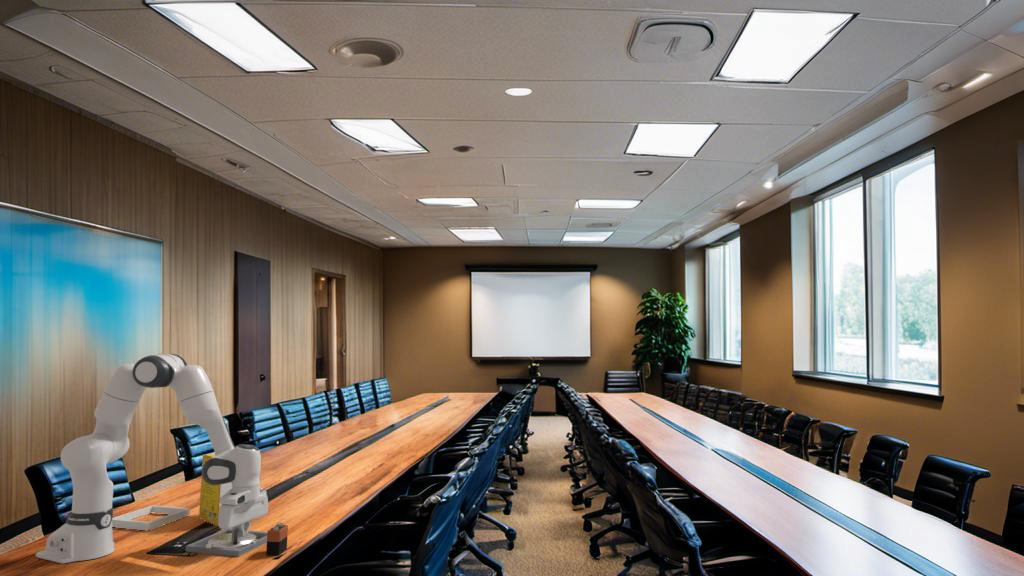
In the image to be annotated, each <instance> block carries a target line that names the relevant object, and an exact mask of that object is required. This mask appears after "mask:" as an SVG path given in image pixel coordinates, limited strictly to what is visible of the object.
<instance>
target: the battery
mask: <svg viewBox="0 0 1024 576" xmlns="http://www.w3.org/2000/svg"><path fill="white" fill-rule="evenodd" d="M288 530H289V525H287V524H284V523H283V522H278V523H277V522H276V525H274V526H273V527H271V528H269V529H268V530H267V531H266V532H267V543H266V552H265V553H266V555H265V556H267V557H268V556H270V557H271V556H272V557H273V558H272V560H279V559H281V558H282V557H283V556H284V555H285V553H284V552H285V551H287V549H288V533H289V531H288Z"/></svg>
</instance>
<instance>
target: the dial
mask: <svg viewBox="0 0 1024 576" xmlns="http://www.w3.org/2000/svg"><path fill="white" fill-rule="evenodd" d="M231 529H232V533H229V534H223V535H219V536H216V537H213V538H211V539H210V540H209V541H208V544H209V543H210V544H214V545H213V547H219V548H229V549H240V548H242V547H244V546H246V545H248V544H250V543H251V542H252V541H256V540H257V538H256V535H254V534H251V533H248V535H245V536H243V537H240V536H239V533H238V528H237V527H236V526H235V527H233V528H231Z"/></svg>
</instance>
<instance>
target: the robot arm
mask: <svg viewBox="0 0 1024 576" xmlns="http://www.w3.org/2000/svg"><path fill="white" fill-rule="evenodd" d="M167 387H169V388H171V389H172V390H173V391H174V393H175V394H176V398H177V401H178V405H179V407H180V410H181V413H182V414H183V416H184V418H185V419H186V420H187V421H188V422H190V423H192V424H195V425H197V426H200V428H202V429H203V430H204V431H205V432H206V434H207V436H208V439H209V441H210V443H211V445H212V448H213V450H214V453H215V456H214V457H212V458H211V459H209V460H208V461H207V462H205V464H204V465H203V467H202V466H201V478H202V477H203V479H204V480H205V482H207V483H208V484H210V485H221V484H225V483H232V489H230V490H229V491H228V492H227V493H226V494H225V495H223V496H222V497H221V498H220V504H222V505H221V507H220V509H219V516H218V526H217V527H219V529H221V530H224V529H232V528H233V527H235V526H236V527H237V528H238V531H239V536H240V537H243V536H245V535H248V531H250V530H249V529H250V528H251V526H252V521H253V520H256V519H259V518H261V517H264V516H266V515H267V514H268V511H269V499H268V498H269V497H268V494H267V490H266V489H265V488H264V487H261V479H260V480H259V474H260V471H261V472H262V460H261V455H262V454H261V450H260V448H259V447H257V446H256V445H254V444H249V443H248V444H247V443H245V444H244V443H242V444H241V443H240V444H238V445H236V446H235V444H234V442H233V440H232V437H231V434H230V432H229V430H228V427H227V425H226V422H225V420H224V418H223V416H222V412H221V410H220V407H219V404H218V400H217V397H216V394H215V391H214V389H213V385H212V383H211V381H210V378H209V376H208V375H207V373H206V371H205V370H204V368H203V367H202V366H201V365H197V364H188V363H187V361H186V359H185V358H183V357H182V356H180V355H177V354H174V353H158V354H153V355H152V354H151V355H147V356H144V357H142V358H140V359H139V360H137V362H136V363H130V362H129V363H124V364H121V365H120V366H119V367H118V368H116V370H115V372H114V373H113V375H112V376H111V378H110V379H109V381H108V382H107V385H106V386H105V388H104V391H103V392H102V395H101V397H100V399H99V401H98V403H97V405H96V408H95V409H94V411H93V412H94V413H93V415H94V417H95V420H96V421H95V425H94V426H95V427H94V430H93V432H92V433H91V434H88V435H83V436H79V437H78V438H75V439H73V440H72V441H70V442H68V443H67V444H66V445H64V447H63V448H62V450H61V452H60V462H61V465H63V467H64V469H65V468H66V470H67V471H68V472H69V476H70V478H71V482H72V502H71V504H72V505H71V511H69V512H67V513H64V517H63V518H67V519H66V521H65V523H64V524H63V525H61V526H60V527H59V528H58V529H56V530H55V531H53V532H52V533H51V534H49V536H48V538H47V540H46V542H45V543H46V544H45V548H43V549H42V550H40V551H37V552H36V553H35V557H36V558H39V559H43V560H48V561H49V562H55V563H59V564H67V563H72V562H73V563H74V562H78V561H79V562H82V561H88V560H93V559H98V558H101V557H106V556H107V555H108V556H109V555H110V554H112V553H114V552H115V550H116V549H115V542H114V538H113V537H114V535H113V534H114V533H113V530H114V528H112V522H111V521H112V518H114V506H113V496H114V486H115V485H114V483H113V481H112V480H111V479H110V478H109V475H108V471H107V465H108V464H112V463H114V462H116V461H117V460H119V459H121V458H122V457H123V456H125V455H126V454H127V453H128V451H129V449H130V442H131V441H130V438H129V430H130V425H131V422H132V419H133V416H134V414H135V413H136V410H137V408H138V406H139V403H140V401H141V399H142V396H143V394H144V392H145V391H146V389H147V388H150V389H152V388H153V389H155V388H157V389H158V388H167ZM260 454H261V455H260Z"/></svg>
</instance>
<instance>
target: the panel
mask: <svg viewBox="0 0 1024 576" xmlns="http://www.w3.org/2000/svg"><path fill="white" fill-rule="evenodd" d="M229 533H232V528H230V529H221V530H220V531H218V532H216V533H213V534H211V535H208V536H206V537H204V538H202V539H199V540H196V541H195V542H192V543H190V544H187V545H185V552H187V553H197V554H206V555H218V556H225V557H228V556H229V557H237V558H239V557H241V556H243V555H246V554H248V553H249V552H251V551H253V550H255V549H257V548H259V547H261V546H263V545H265V544H267V531H257V530H249V531H248V533H251V534H254V535H256V541H252V542H251V543H250V544H248V545H246V546H244V547H242V548H240V549H229V548H219V547H213V545H214V544H210V543H209V544H208V541H209V540H210V539H211V538H213V537H216V536H219V535H223V534H229ZM238 533H239V531H238Z"/></svg>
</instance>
